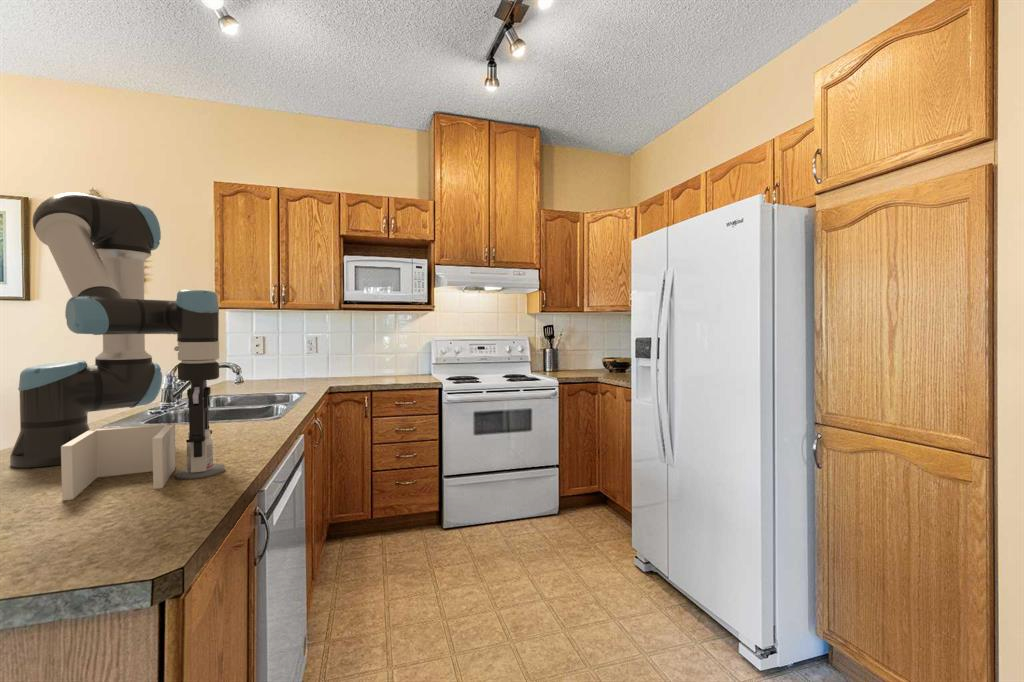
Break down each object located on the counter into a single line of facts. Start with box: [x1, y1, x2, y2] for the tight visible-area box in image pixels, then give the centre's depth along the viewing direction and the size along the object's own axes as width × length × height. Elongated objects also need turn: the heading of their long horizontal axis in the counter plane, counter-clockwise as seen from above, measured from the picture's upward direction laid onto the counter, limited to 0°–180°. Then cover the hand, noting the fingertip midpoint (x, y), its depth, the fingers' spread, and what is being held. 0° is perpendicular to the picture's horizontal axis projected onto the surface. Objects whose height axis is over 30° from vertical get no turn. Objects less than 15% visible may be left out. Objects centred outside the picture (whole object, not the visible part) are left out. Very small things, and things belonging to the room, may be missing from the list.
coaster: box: [174, 463, 225, 481], centre depth 103 cm, size 9×9×1 cm
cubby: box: [60, 423, 177, 502], centre depth 97 cm, size 16×15×10 cm
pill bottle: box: [186, 429, 214, 472], centre depth 103 cm, size 5×5×8 cm
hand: (200, 467), depth 103 cm, fingers closed on pill bottle, 5 cm apart
